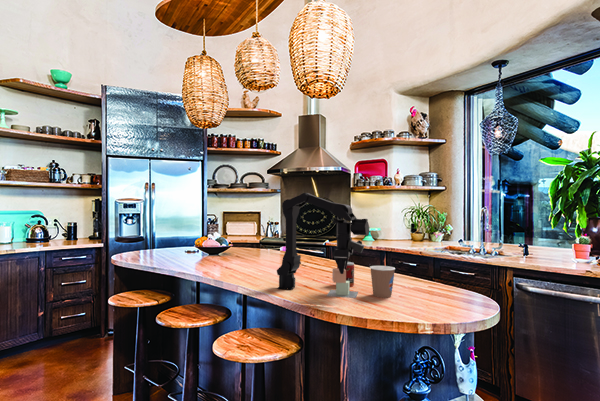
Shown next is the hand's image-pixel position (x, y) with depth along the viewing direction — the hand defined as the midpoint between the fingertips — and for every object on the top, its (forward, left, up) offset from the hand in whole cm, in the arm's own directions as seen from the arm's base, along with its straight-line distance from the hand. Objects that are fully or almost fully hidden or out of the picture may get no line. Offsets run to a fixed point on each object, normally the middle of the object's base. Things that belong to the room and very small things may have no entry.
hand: (343, 272), depth 153 cm
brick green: (0, 0, -9) cm, 9 cm away
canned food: (-1, +18, -10) cm, 21 cm away
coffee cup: (+16, +2, -10) cm, 19 cm away
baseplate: (0, 0, -10) cm, 10 cm away
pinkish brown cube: (-2, 0, -4) cm, 4 cm away
